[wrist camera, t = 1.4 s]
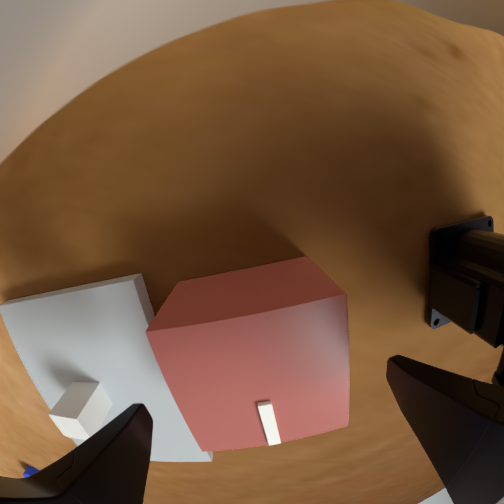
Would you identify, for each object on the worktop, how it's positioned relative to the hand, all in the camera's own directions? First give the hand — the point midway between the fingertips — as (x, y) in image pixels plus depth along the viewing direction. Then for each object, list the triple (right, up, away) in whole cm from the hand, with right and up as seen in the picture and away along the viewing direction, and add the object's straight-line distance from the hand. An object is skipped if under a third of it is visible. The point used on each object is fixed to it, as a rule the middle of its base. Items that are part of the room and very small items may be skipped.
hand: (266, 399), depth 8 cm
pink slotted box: (0, +1, +6) cm, 6 cm away
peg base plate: (-11, -4, +6) cm, 13 cm away
